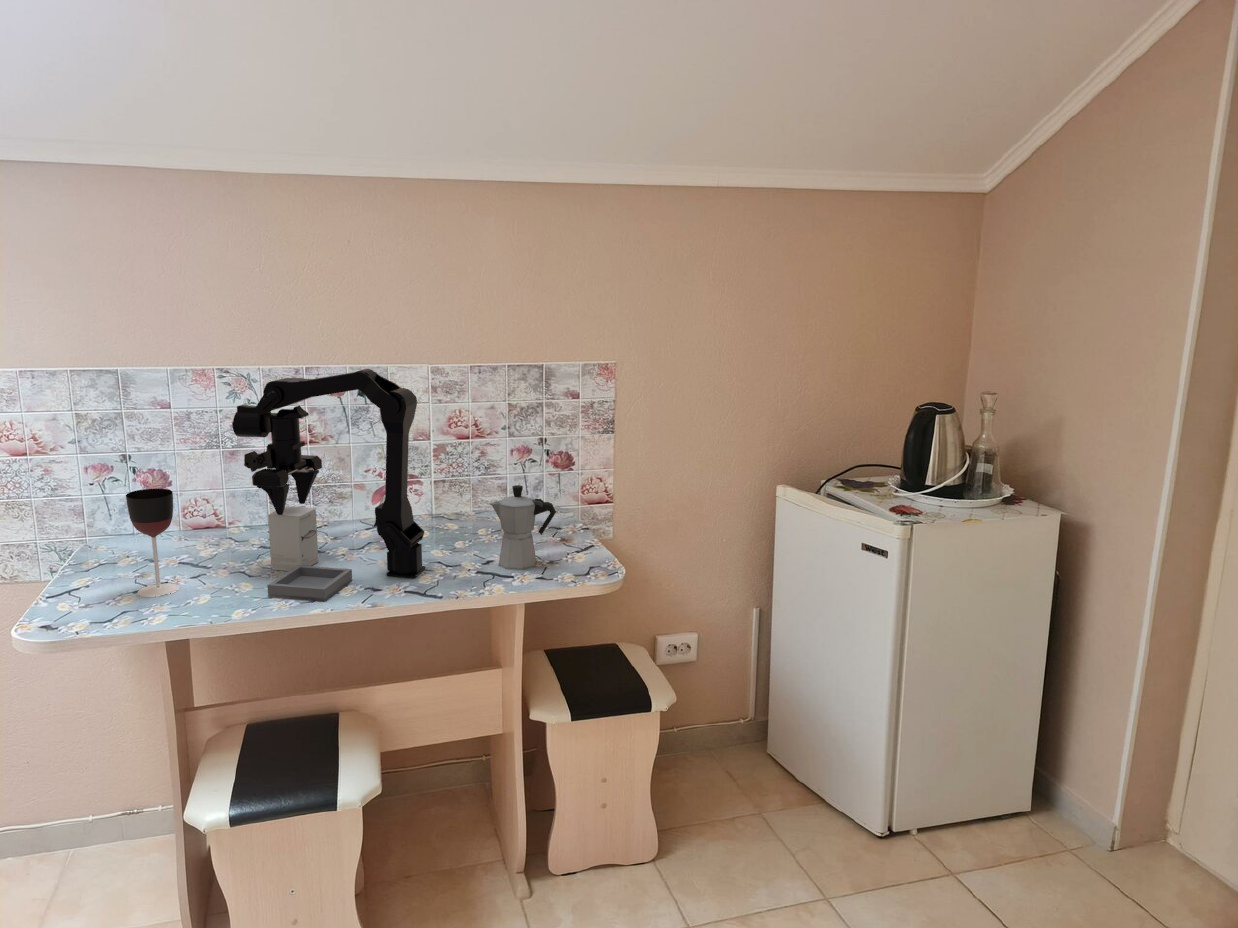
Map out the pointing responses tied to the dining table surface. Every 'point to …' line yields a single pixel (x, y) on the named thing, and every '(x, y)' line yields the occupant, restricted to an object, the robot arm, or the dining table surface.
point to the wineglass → (152, 527)
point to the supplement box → (293, 538)
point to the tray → (310, 583)
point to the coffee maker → (520, 528)
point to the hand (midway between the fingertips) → (291, 509)
